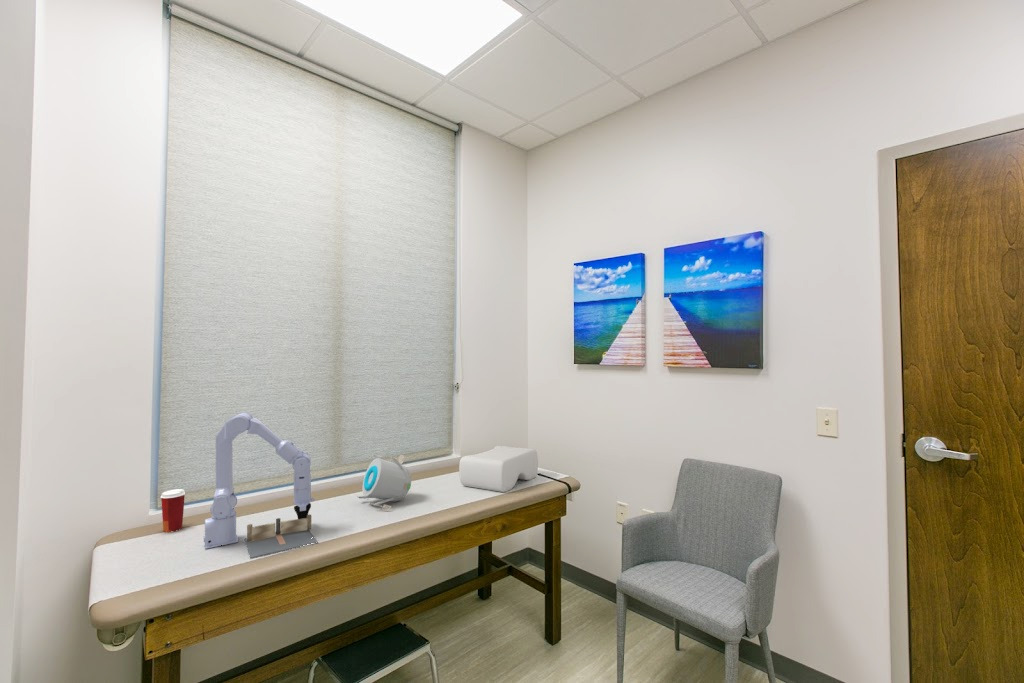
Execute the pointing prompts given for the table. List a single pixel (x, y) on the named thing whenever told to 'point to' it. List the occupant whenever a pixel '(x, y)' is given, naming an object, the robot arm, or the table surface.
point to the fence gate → (293, 525)
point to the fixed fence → (260, 531)
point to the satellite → (386, 480)
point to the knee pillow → (498, 468)
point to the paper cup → (172, 509)
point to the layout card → (279, 543)
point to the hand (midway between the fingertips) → (302, 525)
